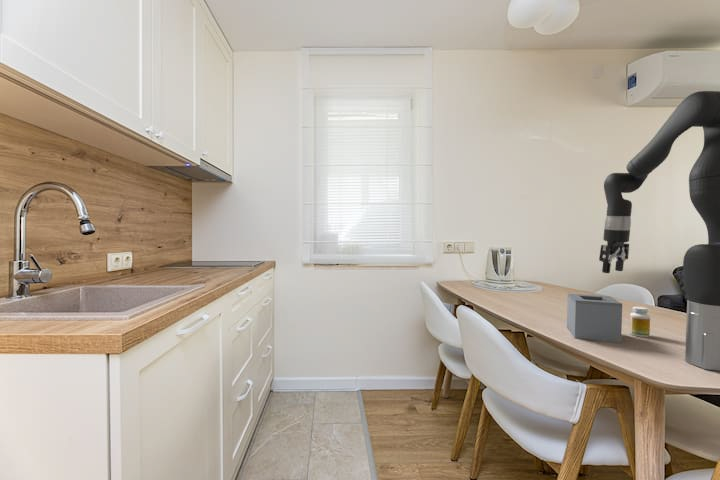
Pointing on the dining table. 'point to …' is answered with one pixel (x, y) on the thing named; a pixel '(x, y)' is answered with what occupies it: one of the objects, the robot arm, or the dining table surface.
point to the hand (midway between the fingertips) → (612, 271)
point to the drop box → (594, 317)
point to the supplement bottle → (640, 322)
